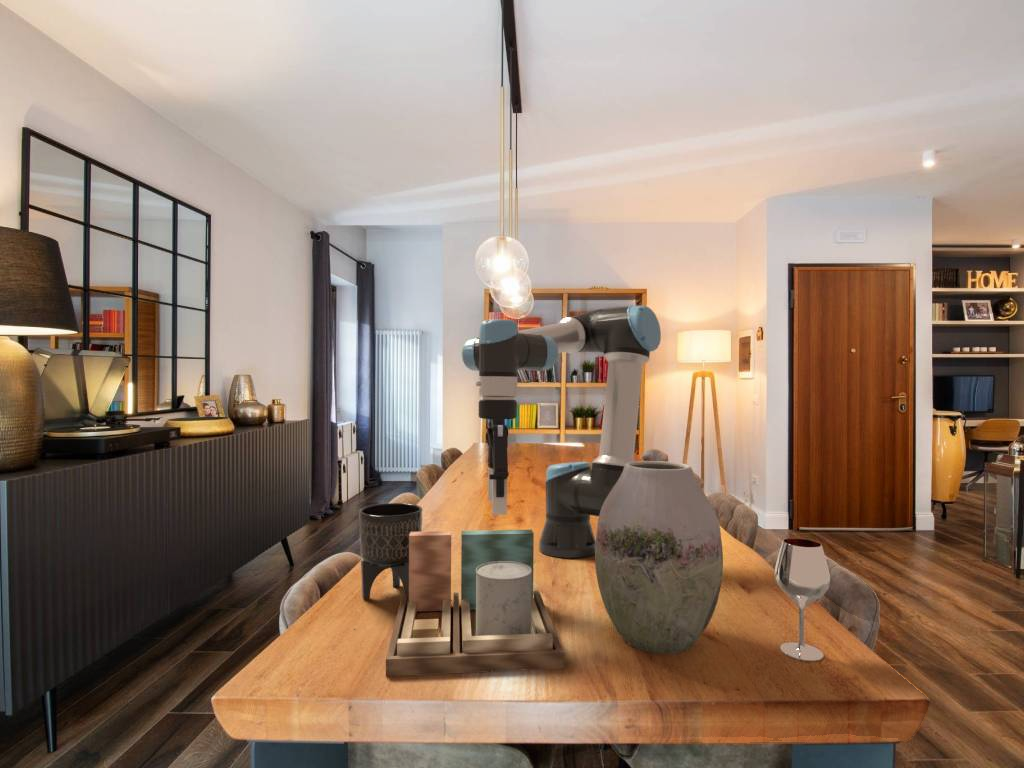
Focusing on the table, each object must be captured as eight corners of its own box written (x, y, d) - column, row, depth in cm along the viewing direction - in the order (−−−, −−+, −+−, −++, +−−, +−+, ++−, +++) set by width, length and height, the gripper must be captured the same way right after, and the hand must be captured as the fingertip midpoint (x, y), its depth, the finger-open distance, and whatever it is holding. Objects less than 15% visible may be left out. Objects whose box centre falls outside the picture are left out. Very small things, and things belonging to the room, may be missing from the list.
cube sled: (450, 604, 114) (451, 531, 114) (449, 667, 89) (450, 572, 89) (409, 605, 113) (410, 531, 113) (396, 669, 88) (397, 574, 88)
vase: (750, 658, 93) (751, 471, 93) (631, 677, 87) (632, 476, 87) (676, 609, 113) (677, 455, 113) (575, 621, 107) (576, 459, 107)
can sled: (531, 601, 116) (531, 529, 116) (552, 662, 90) (553, 570, 90) (461, 604, 114) (461, 530, 114) (462, 666, 89) (463, 572, 89)
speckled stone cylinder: (538, 634, 101) (538, 564, 101) (521, 659, 92) (521, 581, 92) (487, 626, 104) (487, 558, 104) (466, 649, 95) (466, 575, 95)
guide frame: (538, 602, 116) (538, 590, 116) (563, 668, 89) (563, 652, 89) (402, 607, 113) (402, 594, 113) (385, 676, 86) (385, 659, 86)
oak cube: (438, 642, 98) (438, 618, 98) (437, 653, 94) (437, 628, 94) (414, 643, 98) (414, 619, 98) (412, 654, 94) (412, 629, 94)
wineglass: (764, 642, 99) (765, 536, 99) (810, 640, 99) (810, 535, 99) (791, 665, 91) (792, 550, 91) (841, 663, 91) (841, 549, 91)
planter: (366, 611, 111) (367, 518, 111) (352, 589, 123) (352, 506, 123) (430, 599, 117) (431, 512, 117) (411, 580, 129) (411, 500, 129)
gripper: (476, 397, 126) (475, 495, 126) (481, 399, 101) (480, 521, 101) (510, 397, 126) (509, 494, 126) (524, 400, 102) (523, 521, 102)
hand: (496, 506), depth 114 cm, fingers open, 13 cm apart
